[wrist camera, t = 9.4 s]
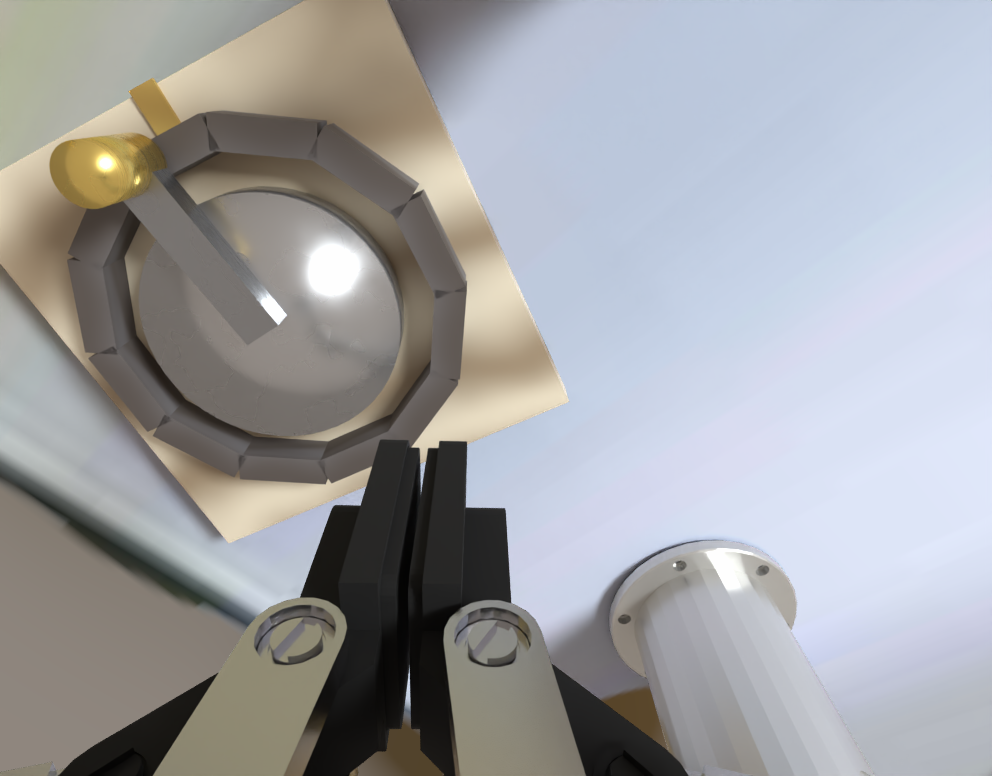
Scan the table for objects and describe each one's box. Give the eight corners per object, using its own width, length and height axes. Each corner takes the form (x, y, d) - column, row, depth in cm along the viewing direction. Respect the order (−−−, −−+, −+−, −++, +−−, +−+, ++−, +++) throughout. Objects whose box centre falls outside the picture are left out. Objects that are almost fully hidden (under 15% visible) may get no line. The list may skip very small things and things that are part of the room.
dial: (450, 345, 33) (445, 396, 27) (269, 454, 35) (232, 521, 30) (243, 52, 27) (185, 43, 21) (43, 208, 29) (-56, 235, 24)
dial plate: (564, 386, 36) (574, 419, 33) (239, 522, 40) (216, 566, 36) (372, -33, 27) (357, -51, 24) (-25, 189, 31) (-91, 203, 27)
